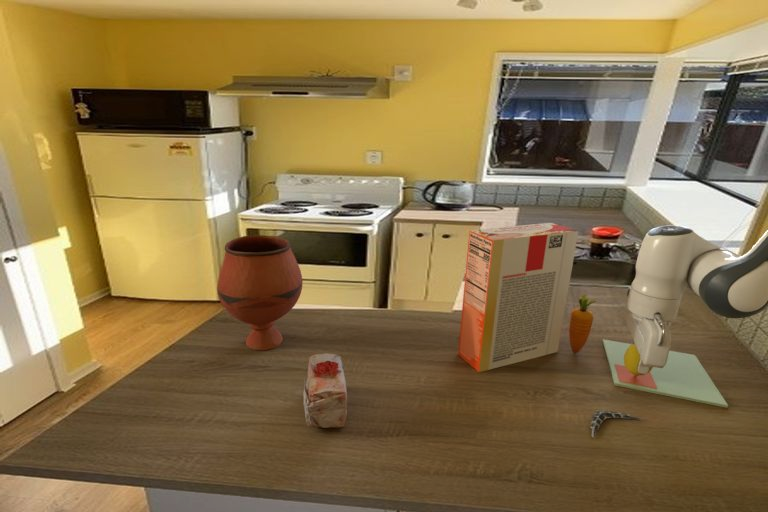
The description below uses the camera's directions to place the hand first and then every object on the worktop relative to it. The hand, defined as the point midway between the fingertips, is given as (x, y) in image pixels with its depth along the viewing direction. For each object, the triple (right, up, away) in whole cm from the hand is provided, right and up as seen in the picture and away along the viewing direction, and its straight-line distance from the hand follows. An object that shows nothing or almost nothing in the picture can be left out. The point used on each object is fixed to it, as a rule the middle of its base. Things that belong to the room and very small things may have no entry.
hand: (638, 363), depth 91 cm
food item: (-65, -6, -11) cm, 67 cm away
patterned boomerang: (-13, -8, -12) cm, 19 cm away
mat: (+7, -3, +4) cm, 9 cm away
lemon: (0, -3, +1) cm, 3 cm away
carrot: (-9, 0, +11) cm, 14 cm away
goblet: (-83, +2, +12) cm, 84 cm away
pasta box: (-25, 0, +10) cm, 27 cm away
